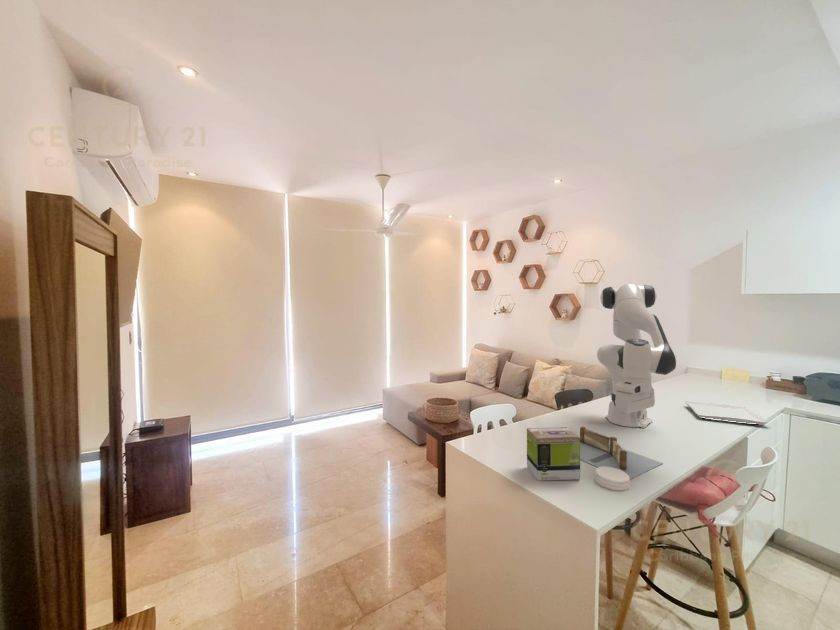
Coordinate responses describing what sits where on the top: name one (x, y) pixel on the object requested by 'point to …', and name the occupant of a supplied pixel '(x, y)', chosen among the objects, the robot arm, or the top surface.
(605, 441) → the fence fixed panel
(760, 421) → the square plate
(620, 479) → the coaster
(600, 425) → the top surface
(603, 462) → the card
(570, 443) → the tea box
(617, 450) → the panel
